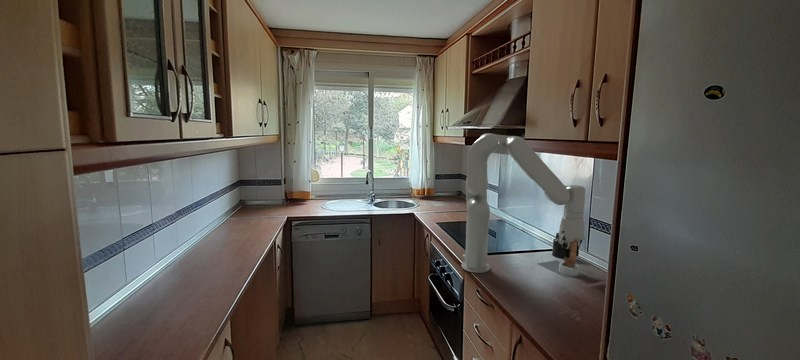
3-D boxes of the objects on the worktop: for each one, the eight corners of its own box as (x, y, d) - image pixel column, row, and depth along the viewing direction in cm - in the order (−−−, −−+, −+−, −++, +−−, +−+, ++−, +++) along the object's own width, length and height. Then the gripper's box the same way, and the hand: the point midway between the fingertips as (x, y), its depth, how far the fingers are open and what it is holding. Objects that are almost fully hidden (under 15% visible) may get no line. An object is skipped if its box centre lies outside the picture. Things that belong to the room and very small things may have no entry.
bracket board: (536, 265, 160) (537, 257, 160) (556, 262, 165) (556, 254, 164) (566, 280, 145) (567, 271, 144) (587, 276, 149) (588, 267, 149)
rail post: (561, 263, 152) (563, 236, 150) (569, 261, 153) (571, 235, 152) (570, 266, 148) (572, 239, 146) (577, 265, 149) (580, 238, 148)
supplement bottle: (549, 257, 171) (550, 233, 170) (556, 254, 175) (558, 231, 174) (562, 261, 166) (564, 237, 164) (569, 258, 170) (571, 234, 168)
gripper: (580, 211, 154) (577, 251, 156) (551, 214, 148) (548, 255, 150) (595, 215, 147) (592, 256, 150) (565, 218, 141) (562, 261, 143)
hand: (570, 255), depth 150 cm, fingers closed on rail post, 4 cm apart
